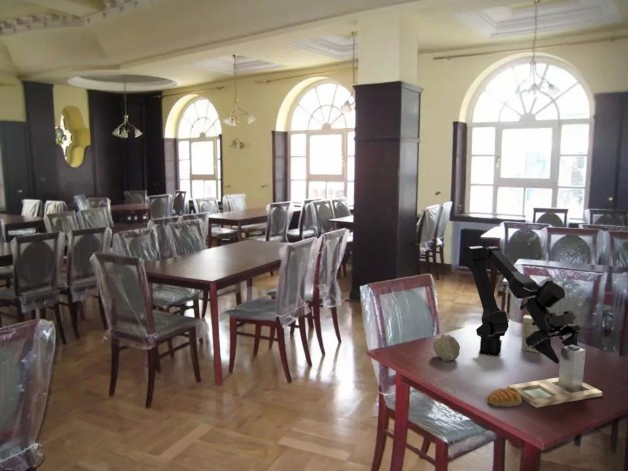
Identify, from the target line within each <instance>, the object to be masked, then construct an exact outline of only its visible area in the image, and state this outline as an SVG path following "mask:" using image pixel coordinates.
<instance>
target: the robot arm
mask: <svg viewBox="0 0 628 471" xmlns="http://www.w3.org/2000/svg"><path fill="white" fill-rule="evenodd" d="M461 257H462V260H463V263H464V264H465V267H467V268H468V269H469V271H471V273H472V276H473V280H474V283H475V287H476V290H477V294H478V297H479V300H480V304H481V307H482V315H481V325H479V327H477V328H476V329H475V332H476V335H477V336H478V337H480V341H479V342H480V346H479V351H478V353H479V354H481V355H487V356H491V357H499V355H500V354H501V352H502V344H503V343H502V340H501V337H504V336H505V335H506V333H507V332H508V329H509V326H510V325H509V323H510V320H509V318H508V314H507V312H506V310H502V309H500V308H499V307H498V304H497V301H496V298H495V293H494V291H493V288H492V285H491V281H490V277H489V274H488V270H487V265H488V262H490V264H491V265H492V266H493V267H494V268H495V269H496V271H497V272H499V273H500V274H501V276H503V278H504V280H506V281H507V283H508V288H509V290H510V292H511V294H513V296H514V297H515V298H516V299H517V300H519V299H521V300H522V299H527V300H524V301H523V300H522V301H521V303H520V306H519V309H520V311H523V310H524V311H525V310H526V311H527V312H528V314H529V315H530V316H531V318H532V319H533V321H534V322H533V323H532V325H533V326H537V328H538V329H539V331H534V332H533V333H532V334H530V335H529V336H528V337H526V344H527V346H528V347H532V348H533V349H536V350H537V351H539V353H540V354H542V355H544V356H545V357H546V358H548V359H549V360H550V361H552V362H553V363H555V364H556V365H559V364H560V359H559V357H558V356H557V353H556V351H555V350H554V348H553V346H552V341H551V340H552V339H556V338H559V340H561V344H562V345H563V347H564V346H569V345H575V346H578V347H579V345H578V337H579V335H580V334H581V332H582V328H581V327H580V325H579V324H576V323H575V321H576V318H577V316H576V315H575V314H574V312H573V311H572V310H565V311H563V312H562V314H560V315H557V313H556V312H551V311H550V310H549V309H550V308H553V307H554V306H555V305H557V304H558V303H559V302H561V300H564V298H565V297H566V292H565V290H564V288H563V287H561V286H560V285H559V284H557V283H555V282H554V281H553V280H552V279H549V280H546V281H545V282H544V283H543V284H542V285H540V284H538V283H537V282H536V280H534V279H533V278H531V277H530V276H529V275H526V274H524V273H521V272H520V271H519V270H518V268H516V267H515V266H514V264H513V263H511V261H510V260H509V259H508V258H507V256H505V255H504V254H503V253H502V251H501V249H500V248H499V247H497V246H486V247H483V246H482V245H476V246H473V245H472V246H466V247H465V248H463V251H462V252H461ZM548 308H549V309H548ZM533 346H534V347H533Z"/></svg>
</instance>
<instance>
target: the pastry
mask: <svg viewBox="0 0 628 471" xmlns="http://www.w3.org/2000/svg"><path fill="white" fill-rule="evenodd" d="M486 398H487V400H486V402H487V403H489V404H490V405H492V406H494V407H504V408H509V407H515V406H519V405H521V404H522V403H523V399H521V396H520V395H519V392H518V391H517V390H516V389H515V388H510V387H508V388H507V387H505V388H498V389H496V390H494V391H493V392H491V393H489V395H487V397H486Z"/></svg>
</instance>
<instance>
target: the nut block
mask: <svg viewBox="0 0 628 471" xmlns="http://www.w3.org/2000/svg"><path fill="white" fill-rule="evenodd" d="M586 351H587V350H586V349H584V348H582V347H580V346H579V345H578V346H575V345H569V346H564V345H563V346H561V350H560V359H559V369H558V370H559V371H558V377H559V380H558V385H557V386H558V387H560V388H562V389H564V390H565V391H567V392H569V393H574V392H580V391H583V390H582V384H583V381H584V370H585V362H586V353H587V352H586Z"/></svg>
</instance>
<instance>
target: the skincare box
mask: <svg viewBox="0 0 628 471" xmlns="http://www.w3.org/2000/svg"><path fill="white" fill-rule="evenodd" d="M533 322H534V321H533V319H532V318H531V316H530V314H529V315H528V314H524V315H523V317H522V325H521V329H522V330H521V349H520V350H522V351H527V352H532V353H537V354H539V353H540V352H539V351H537V350H536V349H533V348H532V347H528V346H527V344H526V337H528V336H529V335H530V334H532V333H533V332H534V331H539V329H538V328H537V326H533V325H532V323H533ZM533 347H534V346H533Z"/></svg>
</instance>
